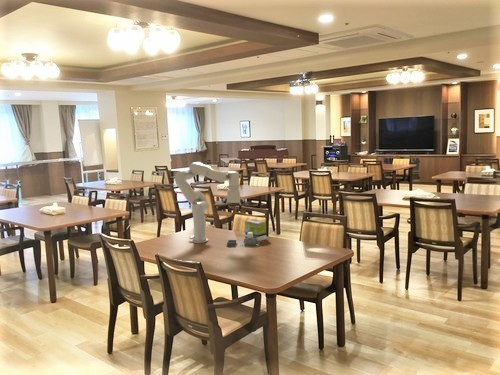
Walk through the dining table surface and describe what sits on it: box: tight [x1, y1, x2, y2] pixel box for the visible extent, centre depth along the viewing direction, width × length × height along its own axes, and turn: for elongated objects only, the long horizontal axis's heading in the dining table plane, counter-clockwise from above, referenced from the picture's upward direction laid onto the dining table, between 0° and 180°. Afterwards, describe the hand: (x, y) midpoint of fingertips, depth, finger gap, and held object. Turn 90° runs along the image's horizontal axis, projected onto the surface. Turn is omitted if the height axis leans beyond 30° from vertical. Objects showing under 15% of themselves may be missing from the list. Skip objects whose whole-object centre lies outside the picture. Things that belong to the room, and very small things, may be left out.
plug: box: [247, 232, 253, 238], centre depth 336 cm, size 4×4×9 cm
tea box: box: [244, 218, 267, 242], centre depth 353 cm, size 15×10×15 cm, turn 43°
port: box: [240, 235, 261, 248], centre depth 336 cm, size 14×12×6 cm
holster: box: [225, 239, 238, 248], centre depth 335 cm, size 8×9×4 cm
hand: (233, 209), depth 339 cm, fingers open, 9 cm apart
